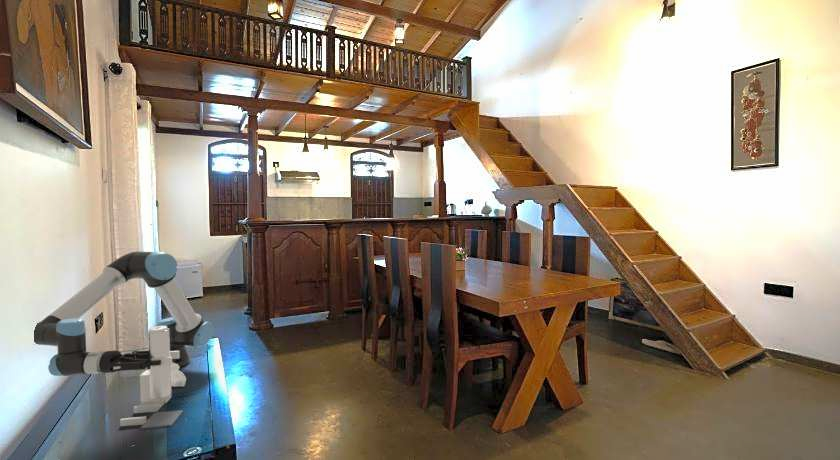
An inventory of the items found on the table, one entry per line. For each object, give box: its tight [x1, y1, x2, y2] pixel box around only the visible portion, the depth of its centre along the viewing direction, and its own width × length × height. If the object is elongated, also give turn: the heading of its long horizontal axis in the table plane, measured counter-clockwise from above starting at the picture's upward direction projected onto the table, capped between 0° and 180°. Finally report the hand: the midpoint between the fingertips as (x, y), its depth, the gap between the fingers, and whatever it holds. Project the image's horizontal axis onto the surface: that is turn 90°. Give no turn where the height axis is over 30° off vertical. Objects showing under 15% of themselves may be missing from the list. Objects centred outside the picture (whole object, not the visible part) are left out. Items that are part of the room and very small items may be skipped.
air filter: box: [147, 325, 172, 399], centre depth 144 cm, size 6×6×25 cm
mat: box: [140, 409, 184, 430], centre depth 146 cm, size 10×10×1 cm
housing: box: [119, 369, 172, 427], centre depth 152 cm, size 20×9×12 cm, turn 10°
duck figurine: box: [171, 363, 187, 388], centre depth 173 cm, size 12×8×11 cm
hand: (175, 357), depth 145 cm, fingers closed on air filter, 6 cm apart
